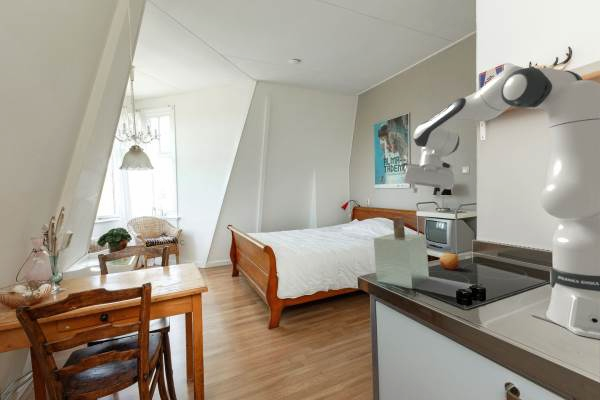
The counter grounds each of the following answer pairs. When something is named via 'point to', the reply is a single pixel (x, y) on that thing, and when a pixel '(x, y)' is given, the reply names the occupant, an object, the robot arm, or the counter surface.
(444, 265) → the fruit
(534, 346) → the counter surface
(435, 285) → the mat
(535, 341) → the counter surface
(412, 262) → the cover
